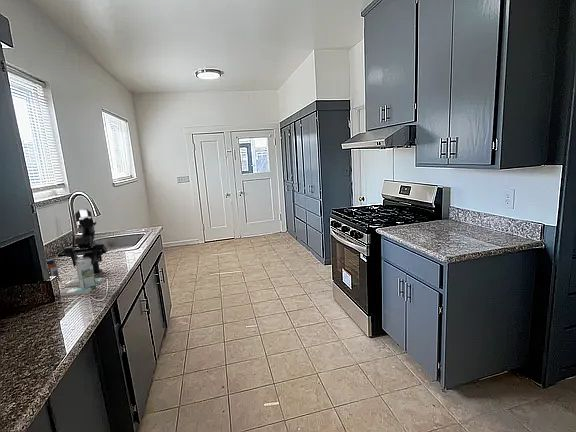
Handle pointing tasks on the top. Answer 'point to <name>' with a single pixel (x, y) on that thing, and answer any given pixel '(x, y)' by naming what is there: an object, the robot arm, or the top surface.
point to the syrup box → (85, 272)
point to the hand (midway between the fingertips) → (83, 265)
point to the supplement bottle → (52, 268)
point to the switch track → (79, 290)
